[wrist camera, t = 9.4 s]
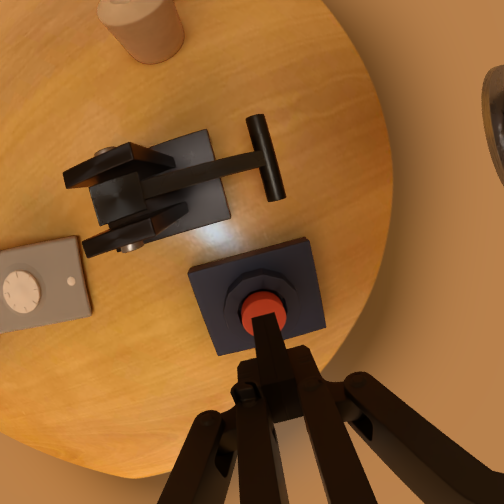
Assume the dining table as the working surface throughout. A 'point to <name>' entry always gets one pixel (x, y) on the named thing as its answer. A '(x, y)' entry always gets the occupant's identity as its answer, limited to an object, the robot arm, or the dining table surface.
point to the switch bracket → (158, 208)
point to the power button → (262, 309)
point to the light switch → (42, 285)
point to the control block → (254, 280)
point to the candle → (144, 27)
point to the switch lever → (189, 178)
